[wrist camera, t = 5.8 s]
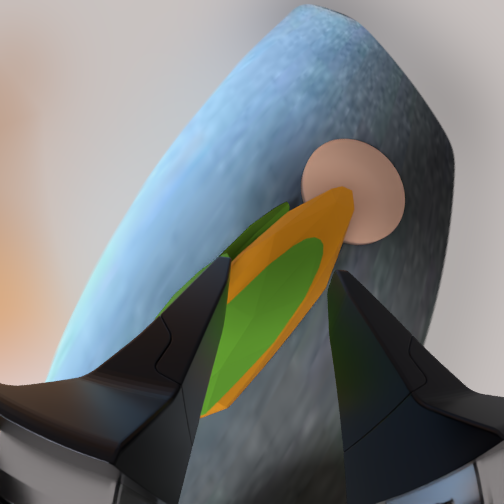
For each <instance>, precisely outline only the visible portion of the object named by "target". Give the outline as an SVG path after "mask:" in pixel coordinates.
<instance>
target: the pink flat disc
mask: <svg viewBox="0 0 504 504" xmlns="http://www.w3.org/2000/svg"><path fill="white" fill-rule="evenodd" d="M341 186H343V187H346V188H348V189H350V190H352V192H353V200H354V212H353V215H352V218H351V220H350V223H349V226H348V229H347V232H346V235H345V238H344V240H343V243H345V244H350V245H367V244H370V243H374V242H376V241H378V240H380V239H382V238H384V237H386V236H387V235H389V234H390V233H391V232H392V231H393V230H394V229H395V228H396V227H397V225H398V224H399V222H400V220H401V218H402V215H403V212H404V207H405V193H404V188H403V184H402V181H401V179H400V176H399V174H398V172H397V170H396V169H395V167H394V166H393V164H392V163H391V162H390V161H389V160H388V158H387V157H386V156H384V155H383V154H382V153H381V152H380V151H379V150H377V149H376V148H374V147H372V146H370V145H368V144H366V143H364V142H361V141H357V140H352V139H337V140H333V141H330V142H327V143H325V144H323V145H322V146H320V147H319V148H318V149H317V150H315V152H314V153H313V154H312V155H311V157H310V158H309V160H308V162H307V164H306V166H305V168H304V171H303V174H302V178H301V195H302V200H303V203H305V202H307V201H309V200H311V199H313V198H315V197H317V196H318V195H320V194H322V193H324V192H326V191H328V190H330V189H332V188H337V187H341Z"/></svg>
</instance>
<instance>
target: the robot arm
mask: <svg viewBox="0 0 504 504" xmlns="http://www.w3.org/2000/svg"><path fill="white" fill-rule="evenodd" d="M231 262H232V259H231V258H230V257H221V256H219V257H217V258H216V259H215V260H214V261H213V262H212V263H211V264H210V265H209V266H208V267H207V268H206V269H205V270H204V271H203V272H202V273H201V274H200V275H199V276H198V277H197V278H196V279H195V280H194V281H193V282H192V283H191V284H190V285H189V286H188V287H187V288H186V289H185V290H184V291H183V292H182V293H181V294H180V295H179V296H178V297H177V298H176V299H175V300H174V301H173V302H172V303H171V304H170V305H169V306H168V307H167V308H166V309H165V310H164V311H163V312H162V313H161V314H160V316H158V317H157V318H156V319H155V320H154V321H153V322H152V323H151V324H150V325H149V326H148V327H147V328H146V329H145V330H144V331H143V332H141V333H140V334H139V335H138V336H137V337H136V338H134V339H133V340H132V341H131V342H130V343H128V344H127V345H126V346H125V347H123V348H122V349H121V350H119V351H118V352H117V353H116V354H114V355H113V356H112V357H111V358H109V359H108V360H107V361H106V362H104V363H103V364H102V365H100V366H99V367H98V368H96V369H95V370H94V371H92V372H90V373H89V374H86V375H84V376H82V377H79V378H74V379H67V380H61V381H54V382H47V383H39V384H31V385H21V386H13V385H5V384H1V383H0V504H178V502H179V498H180V494H181V490H182V486H183V482H184V478H185V474H186V470H187V466H188V462H189V458H190V454H191V450H192V446H193V442H194V438H195V435H196V431H197V427H198V423H199V419H200V415H201V411H202V408H203V404H204V400H205V396H206V392H207V388H208V384H209V381H210V377H211V373H212V369H213V365H214V362H215V358H216V354H217V350H218V346H219V343H220V339H221V335H222V331H223V327H224V322H225V314H226V306H227V298H228V290H229V282H230V272H231ZM327 297H328V318H329V336H330V344H331V350H332V357H333V364H334V371H335V379H336V386H337V394H338V402H339V411H340V420H341V429H342V439H343V450H344V464H345V477H346V493H347V504H504V397H498V396H491V395H485V394H480V393H477V392H474V391H472V390H471V389H469V388H468V387H466V386H465V385H464V384H463V383H462V382H461V381H460V380H459V379H457V378H456V377H455V376H454V375H453V374H452V373H451V372H450V371H449V370H448V369H447V368H445V367H444V366H443V365H442V364H441V363H440V362H439V361H438V360H437V359H436V358H435V357H434V356H433V355H431V354H430V353H429V352H428V351H427V350H426V349H425V348H424V347H423V346H422V345H421V344H420V342H419V341H418V340H417V339H416V338H415V337H414V336H412V334H411V333H410V332H409V331H408V330H407V329H406V328H405V327H404V326H403V325H402V324H401V323H400V322H399V321H398V320H397V319H396V318H395V317H394V316H393V315H392V314H391V313H390V312H389V311H388V310H387V309H386V308H385V307H384V306H383V305H382V304H381V303H380V302H379V301H378V300H377V299H376V298H375V297H374V296H373V295H372V294H371V293H370V292H369V291H368V290H367V289H366V288H365V287H364V286H363V285H362V284H361V283H360V282H359V281H358V280H357V279H356V278H355V277H354V276H353V275H351V274H350V273H349V272H348V271H344V270H336V271H335V272H334V274H333V277H332V280H331V283H330V285H329V288H328V294H327Z"/></svg>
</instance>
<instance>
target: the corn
mask: <svg viewBox="0 0 504 504" xmlns="http://www.w3.org/2000/svg"><path fill="white" fill-rule="evenodd" d="M289 208H290V207H289V204H288V202H285V203H283V204H281V205H279V206H277V207H276V208H274V209H272V210H271V211H270V212H268V213H267V214H265V215H264V216H263V217H261V218H260V219H259V220H257V221H256V222H254V223H253V224H252V225H250V226H249V227H248V228H247V229H246V230H245V231H244V232H243V233H242V234H241V235H240V236H239V237H238V238H237V239H236V240H235V241H234V242H233V243H232V244H231V245H230V246H229V247H228V248H227V249H226V250H225V251H224V252H223V253H222V254H221V255H220V256H221V257H230V258H231V259H232V262H231V272H230V282H229V290H228V298H227V306H226V314H225V322H224V327H223V331H222V335H221V339H220V343H219V346H218V350H217V354H216V358H215V362H214V365H213V369H212V373H211V377H210V381H209V384H208V388H207V392H206V396H205V400H204V404H203V408H202V411H201V415H200V418H202V417H205V416H208V415H210V414H213V413H216V412H218V411H221V410H223V409H226V408H228V407H229V406H230V405H231V404H232V403H233V402H234V401H235V400H236V399H237V397H238V396H239V395H240V394H241V393H242V392H243V391H244V389H245V388H246V387H247V386H248V385H249V384H250V383H251V381H252V380H253V379H254V378H255V377H256V376H257V374H258V373H259V372H260V371H261V370H262V368H263V367H264V366H265V365H266V364H267V362H268V361H269V360H270V359H271V358H272V356H273V355H274V354H275V353H276V352H277V350H278V349H279V348H280V347H281V345H282V344H283V343H284V342H285V340H286V339H287V338H288V337H289V335H290V334H291V333H292V332H293V330H294V329H295V328H296V326H297V325H298V324H299V323H300V321H301V320H302V319H303V317H304V316H305V315H306V314H307V312H308V311H309V310H310V308H311V307H312V306H313V304H314V303H315V302H316V300H317V299H318V298H319V296H320V295H321V294H322V292H323V291H324V289H325V288H326V286H327V283H328V280H329V278H330V275H331V273H332V270H333V268H334V265H335V262H336V260H337V257H338V254H339V251H340V249H341V246H342V243H343V240H344V238H345V235H346V232H347V229H348V226H349V223H350V220H351V218H352V215H353V212H354V200H353V192H352V190H350V189H348V188H346V187H343V186H341V187H337V188H332V189H330V190H328V191H326V192H324V193H322V194H320V195H318V196H317V197H315V198H313V199H311V200H309V201H307V202H305V203H303V204H302V205H300V206H298V207H296V208H294V209H292V210H290V211H289ZM210 264H211V263H210ZM210 264H209V265H210ZM209 265H207V266H206V267H205V268H203V269H202V270H200V271H199V272H198V273H197V274H196V275H195V276H194V277H193V278H191V279H190V280H189V281H188V282H187V283H186V284H185V285H184V286H183V287H182V288H181V289H180V290H179V291H178V292H177V293H175V294H174V295H173V297H172V298H171V299H170V300H169V302H168V303H167V304H166V305H165V307H164V308H163V309H162V310H161V312H160V313H159V314H158V316H160V314H161V313H162V312H163V311H164V310H165V309H166V308H167V307H168V306H169V305H170V304H171V303H172V302H173V301H174V300H175V299H176V298H177V297H178V296H179V295H180V294H181V293H182V292H183V291H184V290H185V289H186V288H187V287H188V286H189V285H190V284H191V283H192V282H193V281H194V280H195V279H196V278H197V277H198V276H199V275H200V274H201V273H202V272H203V271H204V270H205V269H206V268H207V267H208V266H209ZM158 316H157V317H158ZM157 317H156V318H157ZM156 318H155V319H156Z"/></svg>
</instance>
